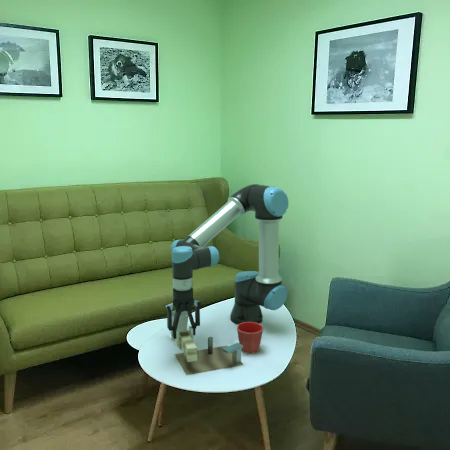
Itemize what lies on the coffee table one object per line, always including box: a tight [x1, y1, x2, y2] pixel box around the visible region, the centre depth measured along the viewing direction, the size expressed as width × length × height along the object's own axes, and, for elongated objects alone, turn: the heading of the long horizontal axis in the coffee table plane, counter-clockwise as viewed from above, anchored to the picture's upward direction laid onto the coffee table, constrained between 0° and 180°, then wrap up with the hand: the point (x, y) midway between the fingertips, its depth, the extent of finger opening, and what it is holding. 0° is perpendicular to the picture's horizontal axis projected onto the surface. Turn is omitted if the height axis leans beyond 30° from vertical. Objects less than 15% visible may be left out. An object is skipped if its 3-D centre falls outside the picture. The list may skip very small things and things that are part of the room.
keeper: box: [222, 342, 243, 364], centre depth 176 cm, size 3×8×7 cm, turn 131°
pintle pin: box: [207, 336, 214, 354], centre depth 184 cm, size 2×2×6 cm
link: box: [178, 329, 198, 362], centre depth 176 cm, size 15×5×5 cm, turn 18°
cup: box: [170, 310, 189, 342], centre depth 196 cm, size 8×8×12 cm
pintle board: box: [174, 345, 245, 376], centre depth 180 cm, size 22×17×1 cm
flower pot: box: [236, 322, 264, 354], centre depth 190 cm, size 11×11×10 cm
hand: (184, 344), depth 181 cm, fingers closed on link, 5 cm apart
